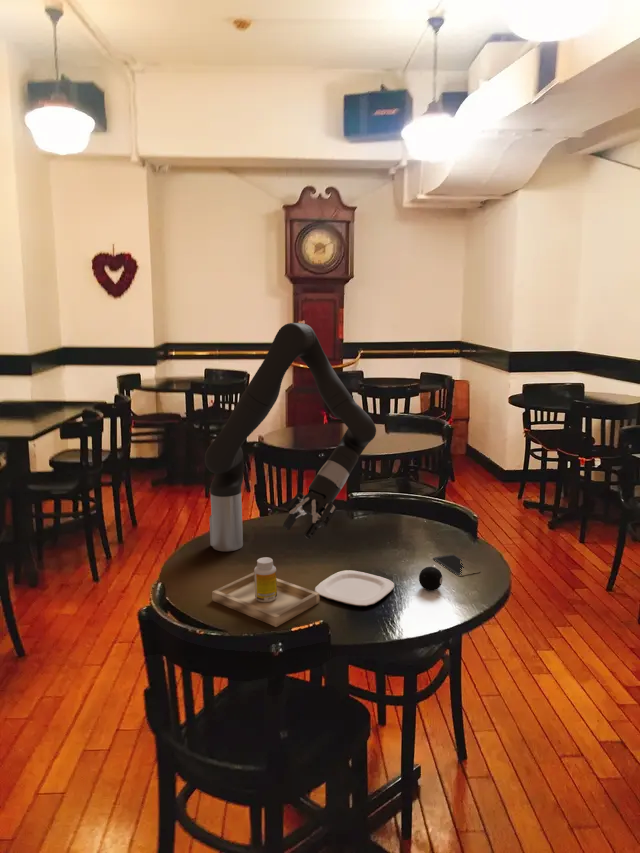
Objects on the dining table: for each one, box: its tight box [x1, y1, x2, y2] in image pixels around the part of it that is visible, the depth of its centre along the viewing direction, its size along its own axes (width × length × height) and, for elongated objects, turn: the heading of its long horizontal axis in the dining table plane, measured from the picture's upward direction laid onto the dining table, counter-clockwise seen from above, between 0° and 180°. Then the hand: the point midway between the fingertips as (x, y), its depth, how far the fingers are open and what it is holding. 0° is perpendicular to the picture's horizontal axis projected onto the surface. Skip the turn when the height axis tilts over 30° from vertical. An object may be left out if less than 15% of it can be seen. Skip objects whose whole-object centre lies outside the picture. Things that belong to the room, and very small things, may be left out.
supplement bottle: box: [253, 556, 278, 602], centre depth 170 cm, size 6×6×10 cm
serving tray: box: [211, 571, 320, 628], centre depth 170 cm, size 22×16×2 cm
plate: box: [314, 569, 395, 607], centre depth 176 cm, size 18×18×2 cm
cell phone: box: [432, 553, 464, 576], centre depth 192 cm, size 7×14×1 cm, turn 23°
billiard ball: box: [418, 566, 443, 591], centre depth 177 cm, size 6×6×6 cm
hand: (295, 532), depth 174 cm, fingers open, 8 cm apart
